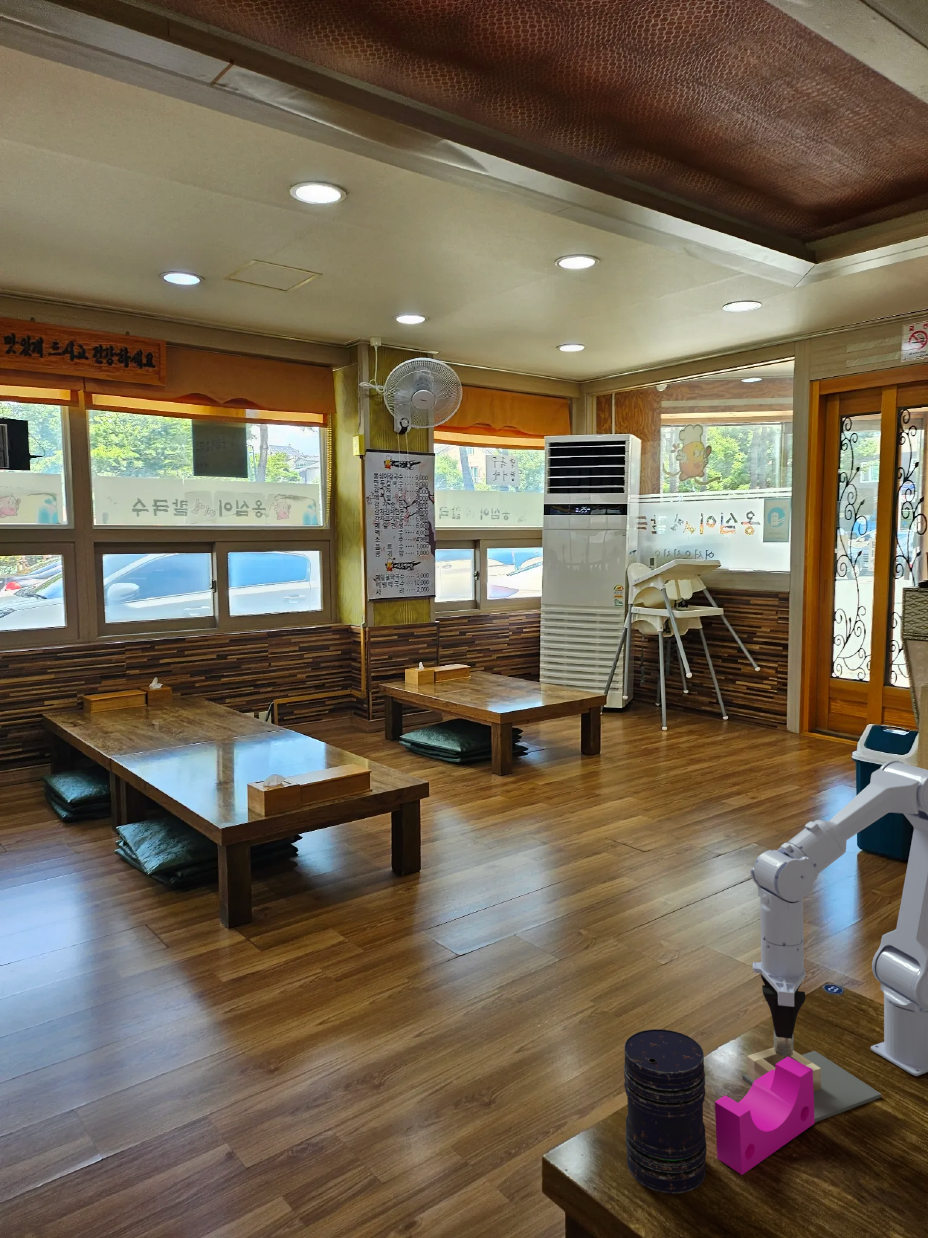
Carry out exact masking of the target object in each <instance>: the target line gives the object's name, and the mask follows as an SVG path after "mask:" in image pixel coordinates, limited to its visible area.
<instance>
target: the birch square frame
mask: <svg viewBox="0 0 928 1238" xmlns="http://www.w3.org/2000/svg"><path fill="white" fill-rule="evenodd" d="M802 1055H803V1054H800V1053H799V1052H797V1051H795V1050H794V1049H793V1055H791V1056H781V1055H778V1054H777V1053H775V1051H774V1046H773V1047H770V1048H767V1049H764V1050H761V1051H758V1052H755V1053H751V1054H749V1055H746V1067H747V1068H746V1070H747V1071H746V1074H747V1076H748V1077H750V1078H751V1079H752V1080H753V1081H755V1080H756V1079H758V1078H760V1077H761V1076H763V1075H764V1074H766V1073H768V1072H769V1071H771V1070H772V1069H773V1070H775V1064H776V1063H778V1062H780V1061H781V1060H783V1059H785V1058H786V1057H790V1058H792V1059H794V1060H796V1061H798V1062H800V1063H802V1064H803V1065H805V1066H807V1067H809V1068H811V1069H813V1092H814V1091H817V1090H819V1089H821V1068H820V1067H818V1066H817V1065H815V1064H814V1063H812V1062H811V1061H809V1060H808V1059H806V1058H805V1057H803V1056H802Z"/></svg>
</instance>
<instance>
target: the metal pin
mask: <svg viewBox="0 0 928 1238" xmlns="http://www.w3.org/2000/svg"><path fill="white" fill-rule="evenodd" d="M773 1047H774V1051H775V1053H777V1054H778V1055H781V1056H791V1055H793V1050H794V1035H793V1036H792V1038H791V1039H790V1038H781V1037H776V1034H775V1031H774V1030H773Z"/></svg>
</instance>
